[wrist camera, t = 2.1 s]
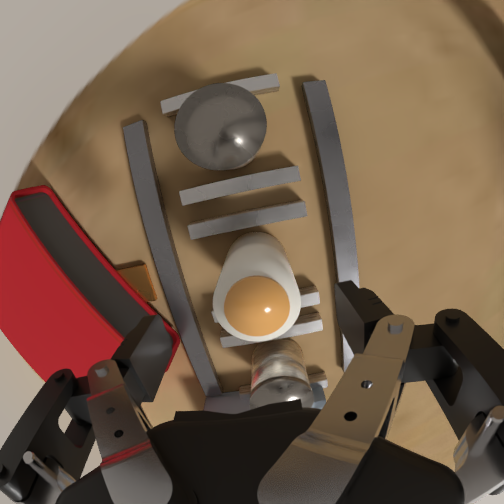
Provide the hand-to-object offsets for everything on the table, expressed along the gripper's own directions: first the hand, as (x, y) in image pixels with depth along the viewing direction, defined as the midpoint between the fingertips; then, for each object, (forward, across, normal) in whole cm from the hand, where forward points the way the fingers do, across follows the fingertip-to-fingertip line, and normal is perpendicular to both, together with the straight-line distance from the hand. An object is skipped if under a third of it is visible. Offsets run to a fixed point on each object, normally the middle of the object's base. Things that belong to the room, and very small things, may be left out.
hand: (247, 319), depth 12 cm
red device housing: (+9, +17, +1) cm, 20 cm away
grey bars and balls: (+9, +2, 0) cm, 9 cm away
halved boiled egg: (+9, 0, 0) cm, 9 cm away
